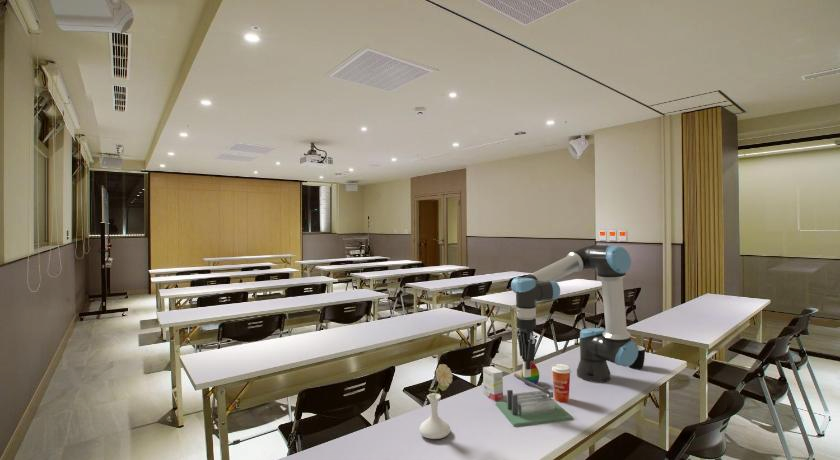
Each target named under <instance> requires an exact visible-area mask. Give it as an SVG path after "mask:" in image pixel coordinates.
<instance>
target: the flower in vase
mask: <svg viewBox="0 0 840 460" xmlns="http://www.w3.org/2000/svg"><path fill="white" fill-rule="evenodd" d="M435 376H436V381H437V382H438V384H437V388H436V389H435V390H434V389H432V388H428V391H429V392H431V393H429V394H427V395H426V398H427V399H428V401H429V404H430V409H431V410H430V411H431V412H430V416H429V417H428V418H427V419H425V420H424V421H423V422H421V424H420V425H419V428H418V431H419V433H420V435H421V436H422V437H424V438H427V439H432V440H438V439H444V438H445V437H447V436H448V435H449V434H450V432H451V426H450V425H449V424H448V422H447V421H446V420H444V419H443V418H441V417H440V416H439V414H438V405H439V401H440V399H441V397H442V395H441V394H439V393H437V392H438V391H439V390H438V389H440V390H441V391H446V390H447V389H448V388H449V386H450V384H452V382H453V377H454V375H453V373H452V371H451V368H450V367H448V365H447V364H444V363H442V364H439V365H438V367H437V368H436V369H435ZM432 392H433V393H432Z"/></svg>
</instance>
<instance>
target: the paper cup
mask: <svg viewBox="0 0 840 460" xmlns="http://www.w3.org/2000/svg"><path fill="white" fill-rule="evenodd" d="M551 371H552V379H553V380H552V383H553V396H554V401H555V402H556V401H557V402H559V403H567V402H569V401H570V381H571V380H570V379H571V373H572V370H571V368H570V367H569V365H566V364H561V363H555V364H554V365H553V366H552V368H551Z"/></svg>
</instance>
